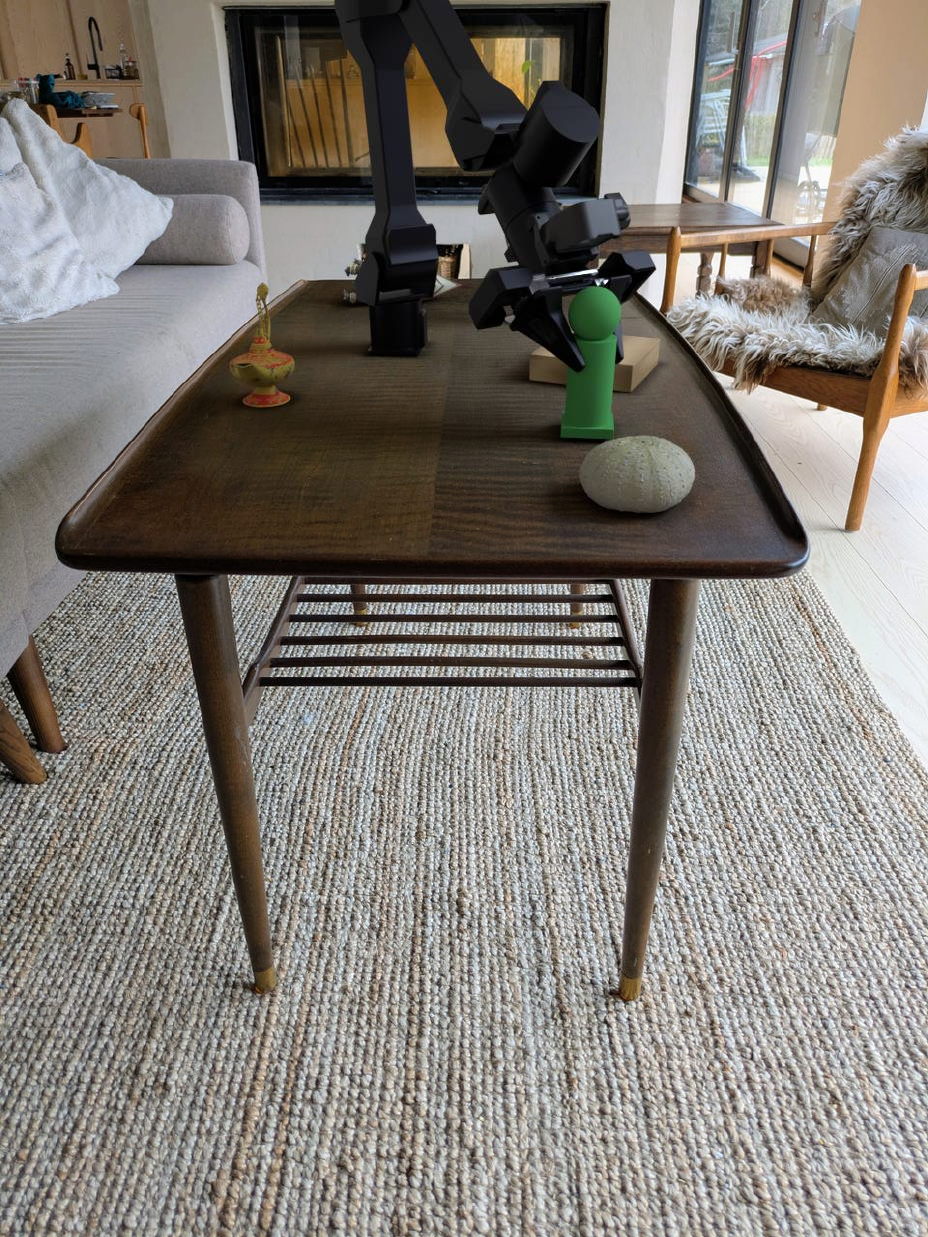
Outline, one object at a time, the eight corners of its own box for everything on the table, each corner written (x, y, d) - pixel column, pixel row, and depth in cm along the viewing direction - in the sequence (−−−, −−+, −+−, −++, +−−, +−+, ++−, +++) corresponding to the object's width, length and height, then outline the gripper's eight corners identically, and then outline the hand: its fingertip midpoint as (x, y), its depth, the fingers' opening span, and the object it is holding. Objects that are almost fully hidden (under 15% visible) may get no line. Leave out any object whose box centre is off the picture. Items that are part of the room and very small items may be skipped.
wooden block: (529, 380, 104) (529, 353, 102) (563, 353, 113) (564, 329, 111) (630, 392, 99) (633, 365, 98) (658, 363, 109) (660, 338, 107)
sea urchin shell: (560, 457, 78) (630, 390, 75) (618, 513, 81) (687, 451, 79) (581, 500, 70) (660, 427, 67) (644, 561, 73) (722, 493, 71)
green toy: (560, 437, 86) (567, 292, 79) (561, 420, 91) (568, 280, 84) (613, 439, 86) (625, 293, 79) (611, 421, 90) (623, 281, 83)
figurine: (368, 250, 147) (470, 254, 144) (369, 290, 150) (469, 294, 147) (328, 265, 129) (442, 270, 126) (330, 309, 132) (442, 315, 129)
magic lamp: (216, 434, 89) (197, 320, 84) (246, 380, 105) (232, 280, 99) (285, 433, 89) (272, 319, 84) (305, 379, 105) (295, 279, 99)
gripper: (486, 167, 74) (564, 331, 72) (652, 154, 83) (726, 300, 81) (438, 254, 84) (505, 400, 82) (591, 234, 93) (655, 366, 91)
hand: (600, 365), depth 84 cm, fingers closed on green toy, 4 cm apart
